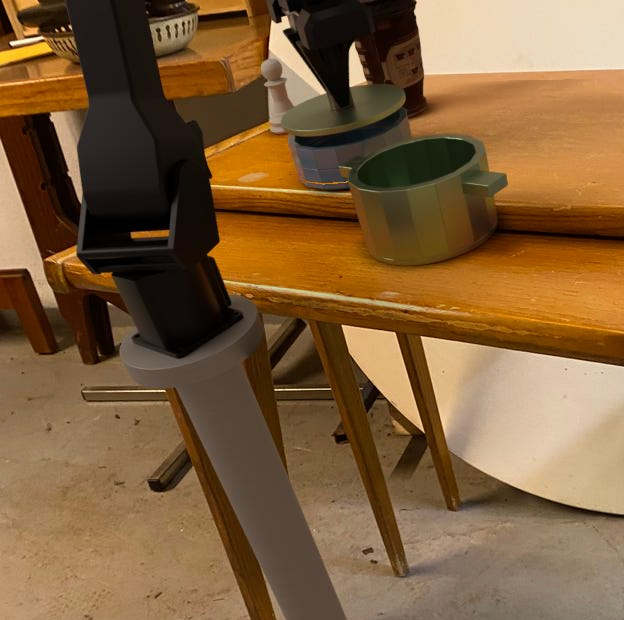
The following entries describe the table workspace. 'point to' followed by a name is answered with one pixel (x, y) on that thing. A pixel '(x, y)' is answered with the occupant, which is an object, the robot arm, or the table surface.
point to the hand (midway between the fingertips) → (341, 103)
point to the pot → (424, 198)
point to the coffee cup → (394, 50)
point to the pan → (344, 149)
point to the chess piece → (276, 93)
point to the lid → (343, 111)
